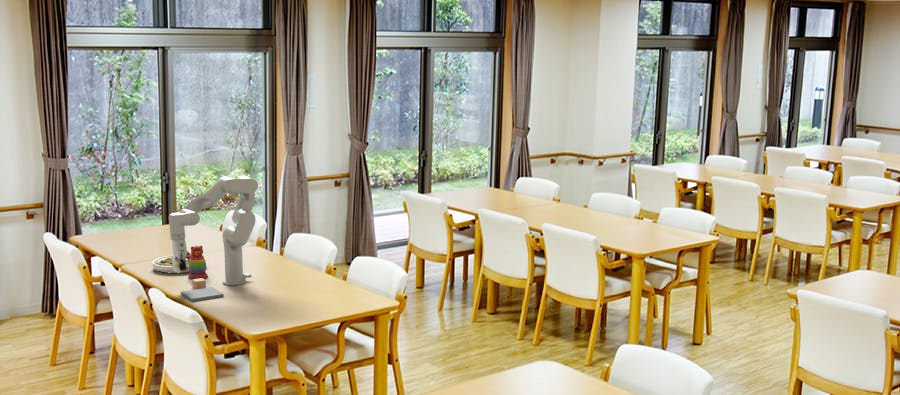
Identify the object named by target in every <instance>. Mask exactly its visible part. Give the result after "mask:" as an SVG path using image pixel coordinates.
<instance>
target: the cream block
mask: <svg viewBox="0 0 900 395" xmlns="http://www.w3.org/2000/svg"><path fill="white" fill-rule="evenodd" d="M181 260H182V259H181ZM185 261H186V270H182V271H180V264H179V263H180V260H179V258H177V259H172V265H173V271H175V272H177V273H176V274H179V273H178V272H184V271H189V264H188V259H186V260H185Z"/></svg>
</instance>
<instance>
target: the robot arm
mask: <svg viewBox="0 0 900 395" xmlns="http://www.w3.org/2000/svg"><path fill="white" fill-rule="evenodd" d="M258 188H259V183H258V181H257V180H256V179H255V178H253V177H249V176H247V175H240V176H238V177H237V178H233V177H229V176H222V177H219V179H218V180H216V181H215V182H214V183H213V184H212V185H211V186H210V187H209V188H208V189H207V190H206V191H205V192H203V193H202V194H201V195H199V196H197V197H196V198H193V199H192V200H191V201H190V202H188V203H187V204H186V205H185V206H184V207H183V208H182V209H181V210H180V211H179V212H172V213H170V214H169V215H168V224H169V235H170V240H171V246H172V247H171V248H172V254H173V255H174V256H175V259H177V258H179V260H180V263H179V264H180V271H182V270H186V261H185V260H186V257H187V251H188V249H187V244H186V243H187V242H186V231H185V226H186V227H187V226H189V227H190V226H195V225H198V224H199V222H200V220H201V217H200V214H199V212H201V211H202V210H204V209H206V208H210V207H213V206H215V205H216V204H218V203H219V202H220V201H221V199H223V198H224V197H225V196H226V195H227V194H229V195H239V198H238V202H237V204H236V206H235V208H234V211H233V213H232V215H231V220H232V223H233V224H235V225H236V226H234V225H230V226H227V227H226V228H225V229H224V230H223V232H222V242H223V249H224V273H225V279H223V280H222V284H223V285H226V286H239V285H243V284H246V282H247V279H248V278H252V275H253V274H251V273H244V270H243V268H244V266H243V248H242V247H243V246H245V245H246V244H247V243H248V241H249V239H250V237H251V235H252V233H253V229H254V227H255V224H256V216H255V214H254V213H253V208H254V205H255V200H256V192H257V190H258ZM181 256H182V257H181ZM181 259H182V260H181Z"/></svg>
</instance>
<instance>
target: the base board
mask: <svg viewBox="0 0 900 395" xmlns="http://www.w3.org/2000/svg"><path fill="white" fill-rule="evenodd" d="M180 295H181V296H183V297H184V298H186V299H187V298H188V299H187V300H188V301H190V302H192V303H193V302H194V303H195V302H198V301H199V302H200V301H206V300H211V299H212V300H213V299H217V298H223V297H224V295H225V294H224V293H223V292H221V291H220V290H218V289H216V288H214V287H213V286H208V287H207V286H206V288H201V289H190V290H189V289H188V290H183V291H180Z"/></svg>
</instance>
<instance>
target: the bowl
mask: <svg viewBox="0 0 900 395" xmlns="http://www.w3.org/2000/svg"><path fill="white" fill-rule="evenodd" d="M181 257H182V256H181ZM191 257H192V254H191V252H189V251H188V250H187V257H186V259H188V264H189V263H190V258H191ZM172 259H175V256H174V255H166V256H161V257H157V258H155V259H154V260H152V267H153V268H154V270H155V271H156V272H159V271H161V272H160V273H162V272H170V273H169V274H172V273H176V274H181V273H180V272H179V273H177V272H175V271H173V265H172ZM205 261H206V262H207V260H206V258H205ZM189 271H190V269H189ZM189 271H184V272H187V273H190V272H189Z"/></svg>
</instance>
